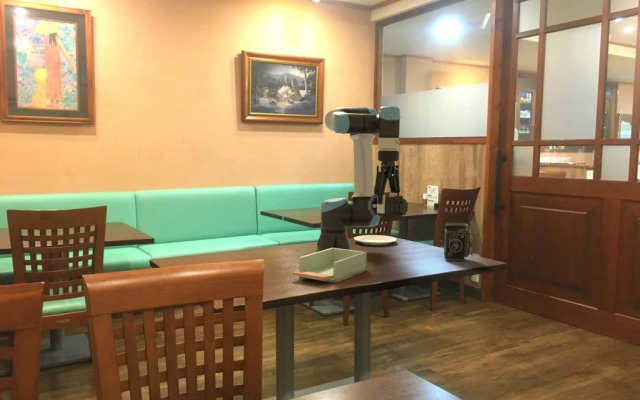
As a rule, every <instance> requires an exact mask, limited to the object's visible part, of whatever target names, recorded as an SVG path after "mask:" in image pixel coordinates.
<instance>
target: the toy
mask: <svg viewBox="0 0 640 400" xmlns="http://www.w3.org/2000/svg"><path fill="white" fill-rule="evenodd" d="M408 204H409V202H407V199H405V198H404V196H403V195H398V194H397V196H393V197H390V196H389V195H388V196H386V197H385V213H377V195H372V198H370V201H368V203H367V206H368V210H370V212H371V213H372V215H379V216H381V217H382V220H390V221H399V218H403V216H406V215H407V212H409V211H408V210H409V209H408V208H409V205H408Z"/></svg>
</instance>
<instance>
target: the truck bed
mask: <svg viewBox="0 0 640 400" xmlns="http://www.w3.org/2000/svg"><path fill="white" fill-rule="evenodd" d="M367 257H368V252H367V251H363V250H362V251H361V250H353V249H350V250H346V249H339V248H330V249H326V250H323V251H317V252H313V253H310V254H305V255H302V256H299V261H298V262H299V264H298V265H299V267H298V268H299V269H298V271H308V272H314V273H320V274H326V275H332V276H333V279H328V280H318V279H313V278H307V277H301V276H298V277H299V278H304V279H309V280H310V279H311V280H314V281H315V280H316V281H321V282H326V283H327V282H328V283H333V284H337V283H339V282H342V281H344V280H347V279H349V278H352V277H355V276H358V275H359V274H362V273H364V272H367V267H368V264H367V263H368V258H367Z"/></svg>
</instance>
